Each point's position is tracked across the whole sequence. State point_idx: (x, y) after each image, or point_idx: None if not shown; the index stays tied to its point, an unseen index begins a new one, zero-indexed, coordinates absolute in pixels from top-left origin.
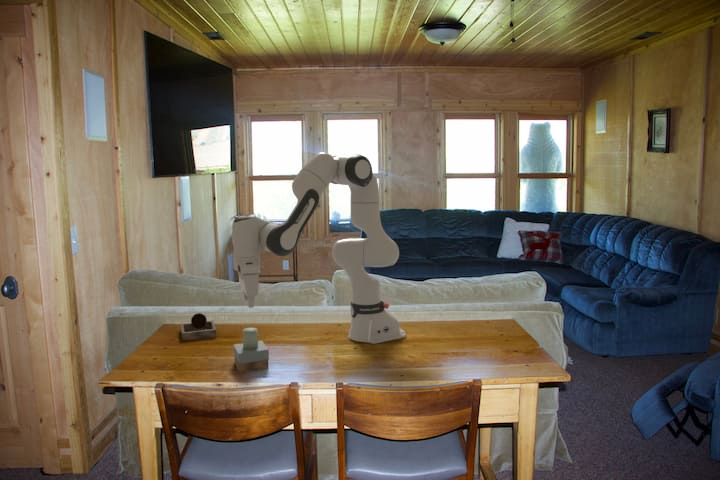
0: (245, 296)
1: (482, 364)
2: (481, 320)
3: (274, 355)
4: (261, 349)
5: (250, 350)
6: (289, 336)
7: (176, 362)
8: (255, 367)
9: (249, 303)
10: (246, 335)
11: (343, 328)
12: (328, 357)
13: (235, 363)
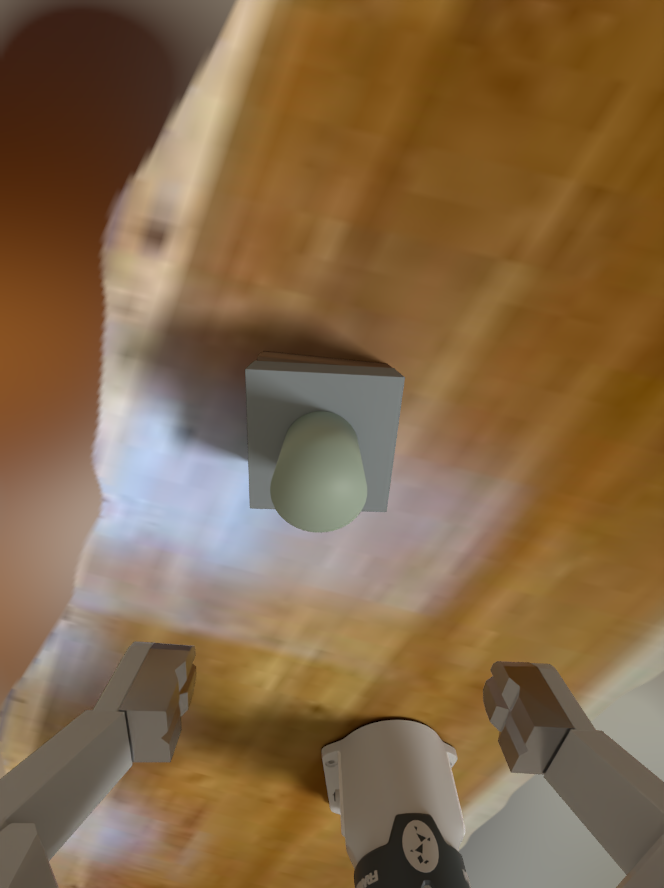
0: (521, 719)
1: (99, 847)
2: None
3: (380, 514)
4: (263, 482)
5: (272, 434)
6: (532, 599)
7: (555, 67)
8: None
9: (104, 704)
10: (284, 452)
11: (491, 727)
12: (277, 640)
13: (362, 361)
